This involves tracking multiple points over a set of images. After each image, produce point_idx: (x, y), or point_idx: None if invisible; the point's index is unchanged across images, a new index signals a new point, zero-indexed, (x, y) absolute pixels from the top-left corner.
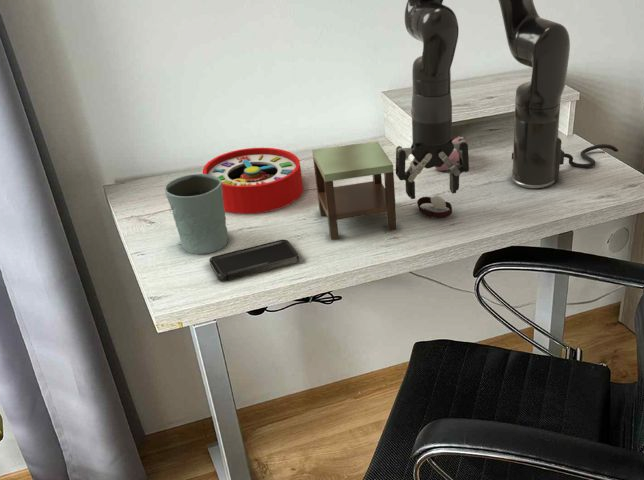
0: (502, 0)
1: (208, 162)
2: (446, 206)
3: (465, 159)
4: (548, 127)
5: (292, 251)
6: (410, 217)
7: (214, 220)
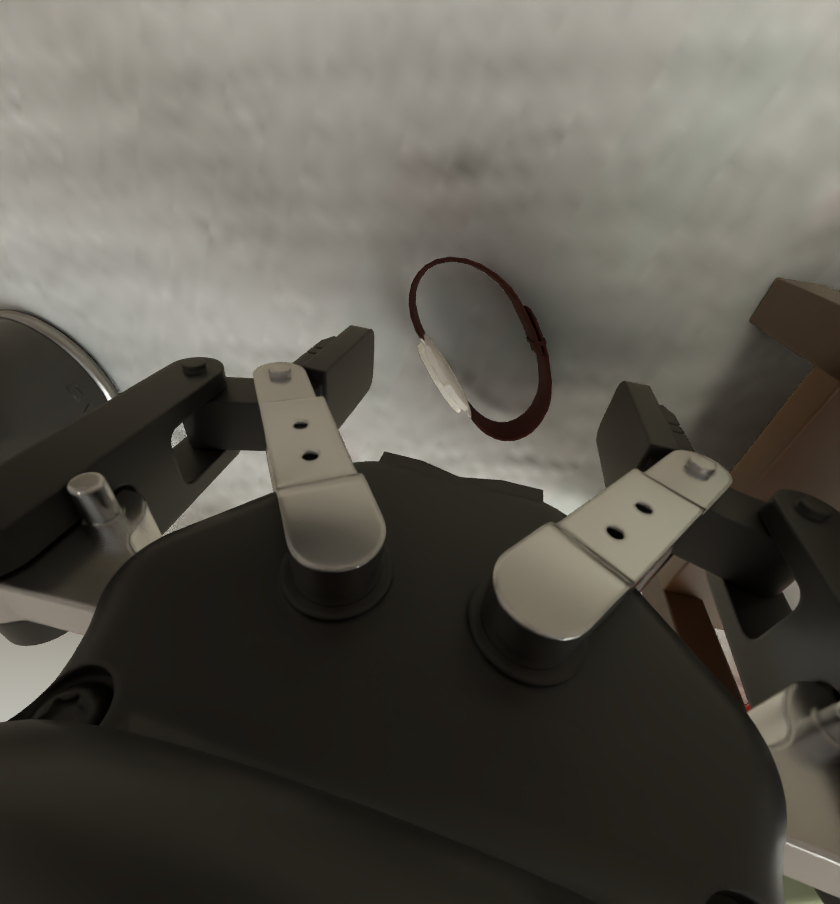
0: None
1: None
2: (423, 331)
3: (127, 411)
4: None
5: None
6: (606, 364)
7: None
